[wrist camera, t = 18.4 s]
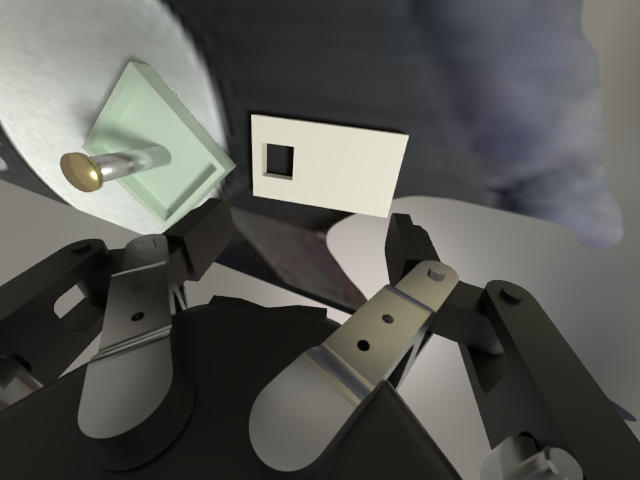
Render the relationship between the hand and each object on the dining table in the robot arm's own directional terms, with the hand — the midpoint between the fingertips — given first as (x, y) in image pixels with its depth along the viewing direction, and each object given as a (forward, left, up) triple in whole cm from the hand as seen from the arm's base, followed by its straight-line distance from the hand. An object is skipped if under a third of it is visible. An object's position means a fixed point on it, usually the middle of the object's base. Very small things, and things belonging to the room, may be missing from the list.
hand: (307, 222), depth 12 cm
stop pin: (-18, -26, -27) cm, 41 cm away
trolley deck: (0, -5, -28) cm, 28 cm away
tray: (-18, -26, -28) cm, 42 cm away
